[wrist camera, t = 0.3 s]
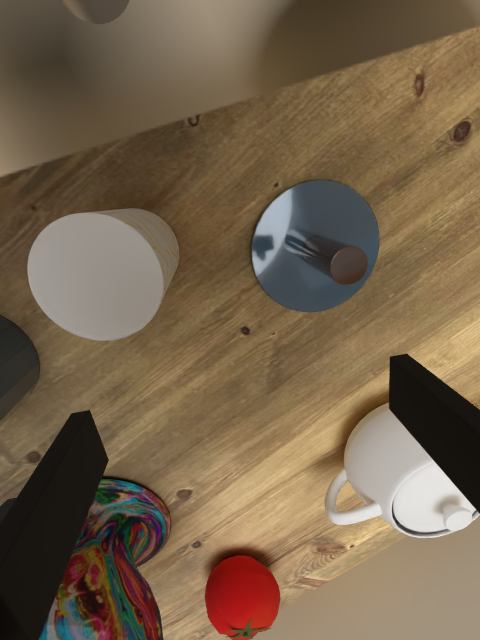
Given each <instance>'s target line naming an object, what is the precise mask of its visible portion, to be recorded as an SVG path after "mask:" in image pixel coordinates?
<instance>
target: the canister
mask: <svg viewBox="0 0 480 640" xmlns="http://www.w3.org/2000/svg"><path fill="white" fill-rule="evenodd" d="M39 372H40V364H39V359H38V355H37V352H36V350H35V348H34V346H33V344H32V342H31V341H30V339H29V338H28V337H27V336H26V335H25V333H24V332H23V331H22V330H21V329H20V328H19V327H17V326H16V325H15V324H13V323H12V322H11V321H9V320H7V319H6V318H4V317H2V316H0V427H1V426H2V425H3V424H4V423H5V421H6V420H7V419H8V418H9V417H10V416H11V415H12V414H13V413H14V412H15V411H16V410H17V408H18V407H19V406H20V405H21V404H22V403H23V402H24V401H25V400H26V399H27V397H28V396H29V394H30V393H31V392H32V390H33V389H34V387H35V385H36V384H37V381H38V378H39Z"/></svg>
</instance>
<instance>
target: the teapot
mask: <svg viewBox="0 0 480 640" xmlns="http://www.w3.org/2000/svg"><path fill="white" fill-rule="evenodd" d="M348 480H349V482H350V484H351V486H352V488H353V490H354V491H355V492H356V494H357V495H358V496H359V497H360V498H361V499H362V500H363V502H364V503H365V504H366V505H365V506H362V507H359V508H356V509H353V510H348V511H337V510H336V499H337V495H338V493H339V491H340V489H341V488H342V486H343V485H344V484H345V483H346V482H347V481H348ZM325 509H326V513H327V515H328V517H329V519H330V520H331V521H332V522H333V523H335V524H338V525H349V524H354V523H357V522H361V521H364V520H367V519H370V518H373V517H376V516H380V517H381V518H382V519H383V520H385V521H386V522H387V523H389V524H390V525H391V526H393V527H394V528H396V529H397V530H399V531H400V532H402V533H404V534H406V535H409V536H412V537H418V538H433V537H439V536H443V535H446V534H450V533H452V532H455V531H458V530H461V529H464V528H465V527H467V526H468V525H469V524H470V523H471V522H472V521H473V520H475V519H476V518H477V517H478V516H479V515H480V514H479V512H478V511H477V510H476V509H475V508H474V507H473V506H472V504H471V503H470V502H469V501H468V500H467V499H466V497H465V496H464V495H463V494H462V493H461V492H460V490H459V489H458V488H457V487H456V486H455V485H454V484H453V482H452V481H451V480H450V479H449V478H448V477H447V475H446V474H445V473H444V472H443V471H442V470H441V469H440V467H439V466H438V465H437V464H436V463H435V462H434V460H433V459H432V458H431V457H430V456H429V455H428V453H427V452H426V451H425V450H424V449H423V448H422V447H421V445H420V444H419V443H418V442H417V441H416V440H415V438H414V437H413V436H412V435H411V434H410V433H409V432H408V430H407V429H406V428H405V427H404V426H403V425H402V423H401V422H400V421H399V420H398V419H397V418H396V416H395V415H394V414H393V413H392V412H391V411H390V410H389V402H388V403H386V404H384V405H381V406H379V407H377V408H376V409H374V410H373V411H371V412H370V413H368V414H367V415H366V416H365V417H364V418H363V419H362V420H361V421H360V422H359V423H358V424H357V425H356V427H355V428H354V429H353V431H352V433H351V434H350V436H349V438H348V441H347V444H346V447H345V451H344V468H343V469H342V470H341V471H340V472H339V473H338V474H337V476H336V477H335V478H334V479H333V481H332V482H331V484H330V486H329V488H328V490H327V493H326V496H325Z"/></svg>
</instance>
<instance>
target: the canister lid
mask: <svg viewBox="0 0 480 640" xmlns="http://www.w3.org/2000/svg"><path fill="white" fill-rule="evenodd" d="M378 250H379V230H378V225H377V221H376V218H375V215H374V213H373V211H372V209H371V207H370V206H369V205H368V203H367V202H366V200H365V199H364V198H363V197H362V196H361V195H360V194H359V193H357V192H356V191H355V190H354V189H352V188H350V187H348V186H347V185H344V184H341V183H339V182H335V181H330V180H313V181H308V182H303V183H300V184H297V185H295V186H292V187H291V188H289V189H287V190H285V191H284V192H282V193H281V194H280V195H278V196H277V197H276V198H275V199H274V200H273V201H272V202H271V203H270V204H269V205H268V206H267V208H266V209H265V210H264V212H263V213H262V215H261V216H260V218H259V220H258V222H257V225H256V227H255V230H254V233H253V238H252V243H251V260H252V265H253V269H254V272H255V275H256V277H257V279H258V281H259V283H260V285H261V286H262V288H263V289H264V291H265V292H266V293H267V294H268V295H269V296H270V297H271V298H272V299H273V300H275V301H276V302H277V303H279V304H281V305H282V306H284V307H287V308H289V309H292V310H296V311H301V312H317V311H323V310H327V309H330V308H333V307H335V306H337V305H339V304H341V303H343V302H345V301H346V300H348V299H349V298H350V297H352V296H353V295H354V294H355V293H356V292H357V291H358V290H359V289H360V288H361V287H362V286H363V284H364V283H365V282H366V281H367V279H368V277H369V276H370V274H371V272H372V270H373V267H374V265H375V262H376V259H377V255H378Z"/></svg>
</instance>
